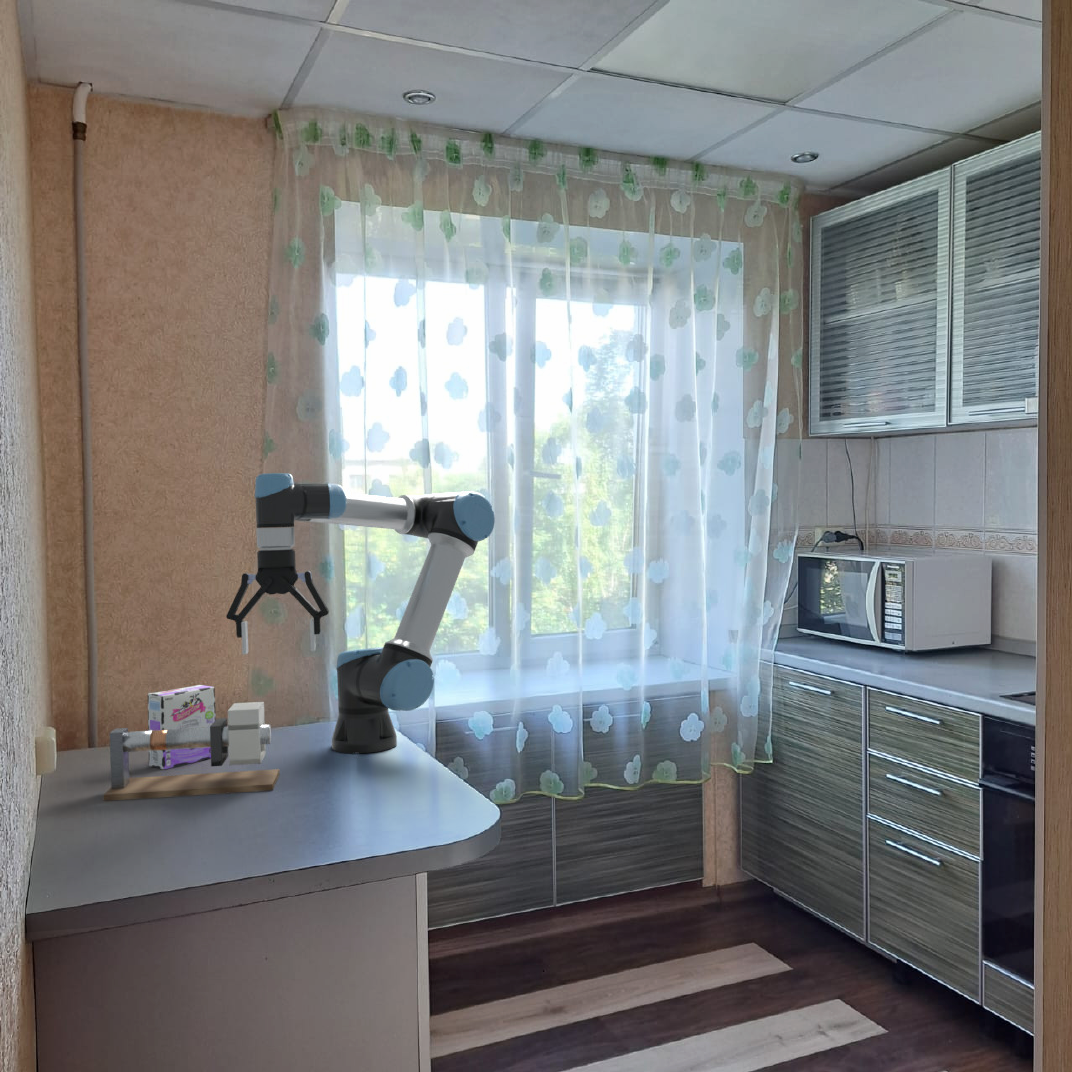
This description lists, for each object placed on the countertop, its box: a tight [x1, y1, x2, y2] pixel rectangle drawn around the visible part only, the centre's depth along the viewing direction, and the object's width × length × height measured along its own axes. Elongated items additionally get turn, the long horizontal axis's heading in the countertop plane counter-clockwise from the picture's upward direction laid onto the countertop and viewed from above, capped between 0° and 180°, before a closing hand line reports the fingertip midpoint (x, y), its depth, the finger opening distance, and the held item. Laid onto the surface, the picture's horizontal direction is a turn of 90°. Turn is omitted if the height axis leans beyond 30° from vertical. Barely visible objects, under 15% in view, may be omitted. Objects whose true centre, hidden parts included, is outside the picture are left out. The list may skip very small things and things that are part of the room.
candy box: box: [147, 684, 217, 770], centre depth 219 cm, size 14×6×16 cm, turn 143°
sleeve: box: [227, 701, 267, 766], centre depth 199 cm, size 6×8×11 cm
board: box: [102, 768, 280, 802], centre depth 198 cm, size 32×12×1 cm, turn 98°
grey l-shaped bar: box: [109, 723, 272, 789], centre depth 197 cm, size 31×4×11 cm, turn 98°
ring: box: [210, 717, 229, 767], centre depth 198 cm, size 2×8×8 cm, turn 8°
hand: (279, 652), depth 200 cm, fingers open, 13 cm apart
